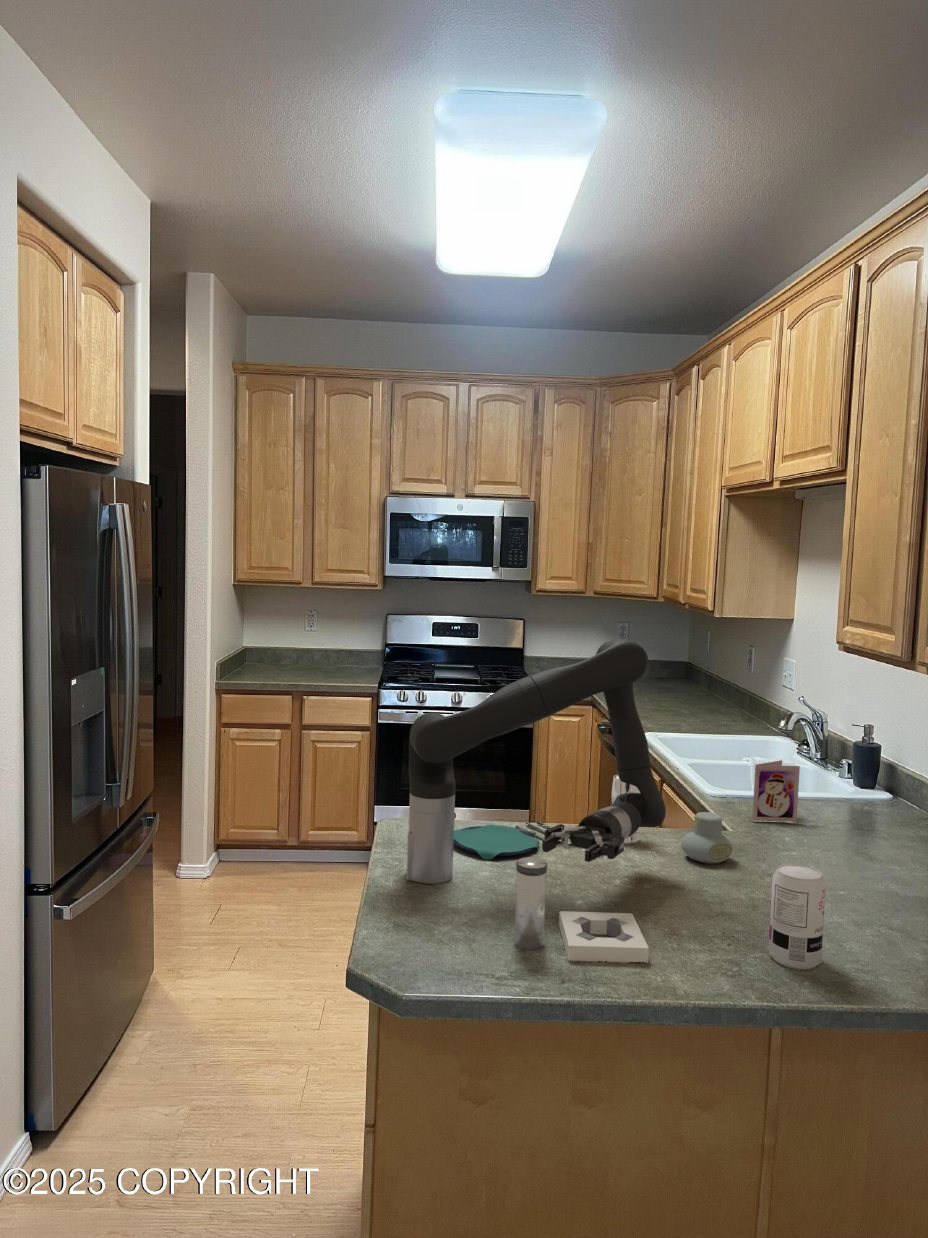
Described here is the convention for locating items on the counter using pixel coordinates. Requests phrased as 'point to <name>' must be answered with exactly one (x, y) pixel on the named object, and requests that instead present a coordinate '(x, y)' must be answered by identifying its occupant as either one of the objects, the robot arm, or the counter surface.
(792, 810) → the greeting card
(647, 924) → the counter surface
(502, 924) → the counter surface
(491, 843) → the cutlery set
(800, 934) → the supplement can
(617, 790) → the beer glass
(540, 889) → the grey cylindrical piece
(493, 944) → the counter surface
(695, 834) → the air freshener
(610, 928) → the mount plate
